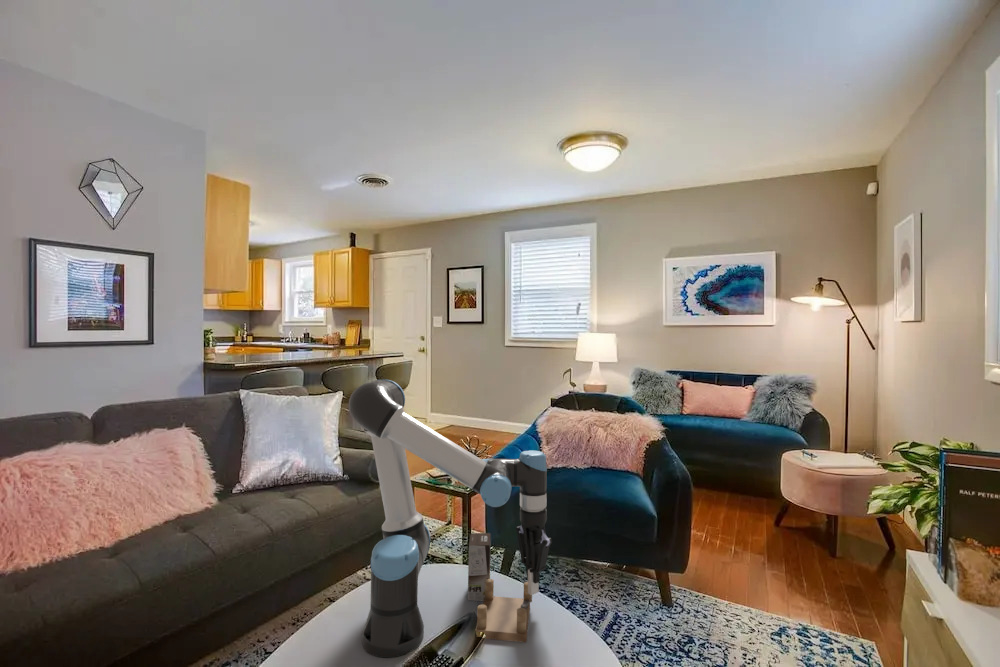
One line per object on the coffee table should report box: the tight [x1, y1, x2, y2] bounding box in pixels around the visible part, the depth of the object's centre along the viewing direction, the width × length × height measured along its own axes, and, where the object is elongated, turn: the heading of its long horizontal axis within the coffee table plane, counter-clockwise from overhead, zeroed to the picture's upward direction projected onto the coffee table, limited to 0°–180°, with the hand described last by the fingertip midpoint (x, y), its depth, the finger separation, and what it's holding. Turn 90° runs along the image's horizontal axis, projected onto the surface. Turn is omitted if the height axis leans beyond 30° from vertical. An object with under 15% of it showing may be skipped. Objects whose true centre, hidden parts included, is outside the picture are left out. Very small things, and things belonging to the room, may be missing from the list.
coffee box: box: [467, 532, 492, 602], centre depth 138 cm, size 9×6×16 cm
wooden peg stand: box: [474, 578, 531, 643], centre depth 124 cm, size 13×16×7 cm
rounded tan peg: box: [523, 581, 533, 607], centre depth 129 cm, size 5×2×5 cm, turn 164°
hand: (533, 592), depth 129 cm, fingers closed
